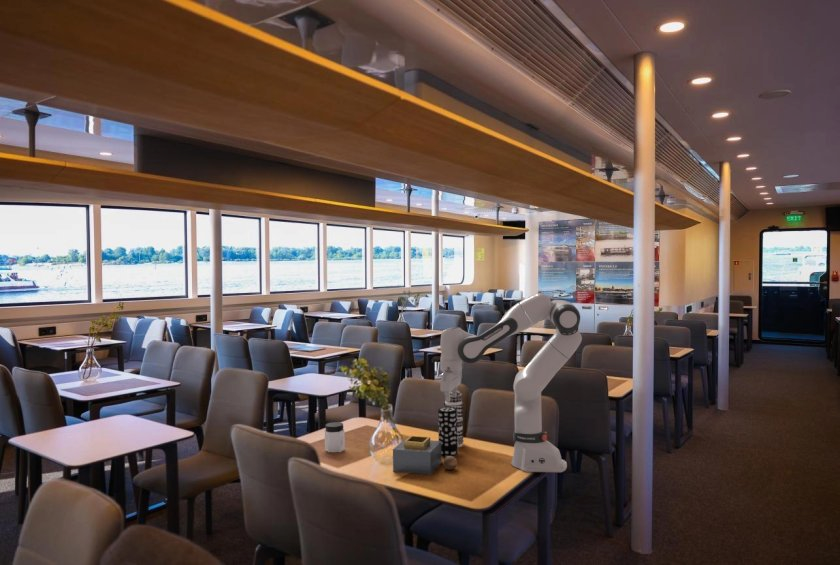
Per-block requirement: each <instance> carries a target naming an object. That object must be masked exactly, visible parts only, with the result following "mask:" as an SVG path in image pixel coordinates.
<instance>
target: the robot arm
mask: <svg viewBox="0 0 840 565" xmlns="http://www.w3.org/2000/svg"><path fill="white" fill-rule="evenodd" d="M545 320H548V321H550V322H551V323H552V325H553V326H555V327H556V329H555V332H554V333H553V335H552V336H551V337H550V338H549V339H548V340H547V342H546V343H545V344H544V345H543V346H542V347H541V348H540V349H539V351H538V352H537V353H536V354H535V355H534V356H533V358H532V359H531V360H530V361H529V362H528V364H527V365H526V366H525V367H524V368H523V369H521V370H519V371H518V372H517V373H516V375H515V378H514V381H513V385H512V387H513V392H514V411H513V412H514V430H513V444H514V447H513V448H514V449H513V455H512V459H511V462H510V463H511V465H512V466H513V467H515V468H516V469H520V470H521V471H522V472H526V473H527V472H529V473H530V472H531V473H534V472H535V473H563V472H565V471H566V470H567V468H568V463H567V461H566V460H565V459H562V455H561V452H560V449H559V448H557V446H555V445H554V444H553V443H551V442H550V441H548V435H547V434H548V433H547V431H544V430H543V426H542V420H543V419H542V392H543V390H544V389H545V388H546V387H547V386H548V384H549V383H550V382H551V380H552V379H553V378H554V377H555V375H556V374H557V373H558V372H559V371H560V370H561V368H562V367H563V366H565V364H566V363H567V362H568V361H569V359H571V357H572V356H573V355H574V353H575V352H576V351H577V349H578V348H579V346H580V345H581V343H582V340H583V337H582V334H581V332H580V331H579V327H580V323H581V314H580V311H579V310H578V308H577V307H576V306H575V305H574V304H573V303H572V302H570V301H568V300H567V299H564V298H553V299H552V298H550V297H548V296H547V294H545V293H542V292H538V293H536V294H533V295H531V296H528V297H526V298H524V299H522V300H521V301H519V302H517V303H515V305H513V306H512V307H511V308H509V309H508V310H507V311H506V312H505V313H504V315H503V316H502V318H501V319H500V320H499V321H498V322H497V323H496V324H495V325H494V326H492V327H490V328H489V329H487V330H486V331H484V332H482V333H481V334H480V335H476V334H472V333H470V332H468V331H465V330H463V328H461V327H460V326H451V327H446V328H445V329H444V330H442V332H441V335H440V344H439V345H440V346H439V347H440V352H441V354H440V360H439V361H440V362H439V364H440V365H439V368H440V371H442V373H441V374H440V386H439V388H440V389H439V390H440V392H441V393H443V394H444V400H445V401H446V402H449V401H450V391H451V390H452V397H456V392H457V391H458V386H460V385H461V384H462V379H463V378H462V376H463V368H464V363H467V364H475V363H477V362H479V361H480V360H481V359H482V357H483V356H484V354H485V352H486V351H488V350H489V349H490V348H491V347H493V346H495V345H496V344H498V343H500V342H502V341H503V340H504V339H506V338H508V337H511V336H513V335H516V334H518V333H521V332H524V331H527V329H529V328H532V327H533V326H535V325H537V324H538V323H540V322H542V321H545Z"/></svg>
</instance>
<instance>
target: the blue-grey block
mask: <svg viewBox="0 0 840 565" xmlns="http://www.w3.org/2000/svg"><path fill="white" fill-rule="evenodd" d="M442 459H443V457H442V456H441V441H439V440H431V437H430V436H422V435H420V436H419V435H410V436H409V437H408V438H405V439H403V440H402V441H401V442H400V443H399V444H397V446H395V447H393V449H392V472H397V473H406V474H417V475H418V474H419V475H428V476H431V475H432V474H433V473H434V471H435V470H437V468H438V467H439V466H440V465H441V464H442V461H443V460H442Z"/></svg>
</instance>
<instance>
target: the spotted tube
mask: <svg viewBox="0 0 840 565" xmlns="http://www.w3.org/2000/svg"><path fill="white" fill-rule="evenodd" d="M437 422H438V423H437V424H438V425H437V426H438V441H441V457H442V458H446V457H447V456H453V457H456V456H458V454H459V452H458V445H457V409H456V408H452V407H445V406H444V407H439V408H438V409H437Z"/></svg>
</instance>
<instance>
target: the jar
mask: <svg viewBox="0 0 840 565" xmlns="http://www.w3.org/2000/svg"><path fill="white" fill-rule="evenodd" d="M324 428H325V429H324V451H325V450H326V452H327V451H328V452H327V453H329V452H339V453H342V452H343V451H345V450H346V447H345V446H346V442H345V440H346V439H345V429H344V423H342V422H339V421H336V422H335V421H334V422H328V423H326V424H325V427H324Z"/></svg>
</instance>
